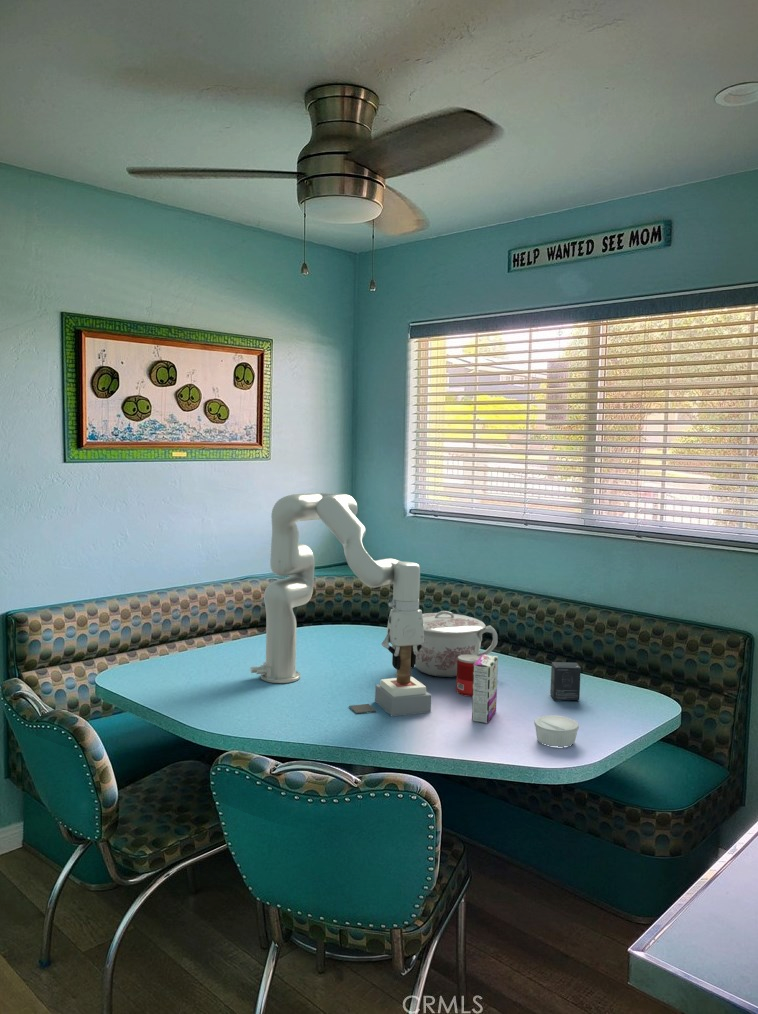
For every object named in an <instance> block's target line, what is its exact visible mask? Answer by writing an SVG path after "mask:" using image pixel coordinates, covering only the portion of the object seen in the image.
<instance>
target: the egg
mask: <svg viewBox="0 0 758 1014" xmlns="http://www.w3.org/2000/svg"><path fill="white" fill-rule="evenodd" d="M395 685H396V686H397V687H404V686H411V683H408V684H400V683H397V682H395Z"/></svg>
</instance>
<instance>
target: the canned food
mask: <svg viewBox="0 0 758 1014" xmlns="http://www.w3.org/2000/svg"><path fill="white" fill-rule="evenodd" d="M479 658H480V656H477V655H469V654H465V655H460V656H458V659H457V676H456V687H455V688H456V690H455V691H456V692H457V693H458V694H459V695H461V696H464V695H466V697H473V665H474V664H475V662H476V661H477V660H478V659H479Z"/></svg>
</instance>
